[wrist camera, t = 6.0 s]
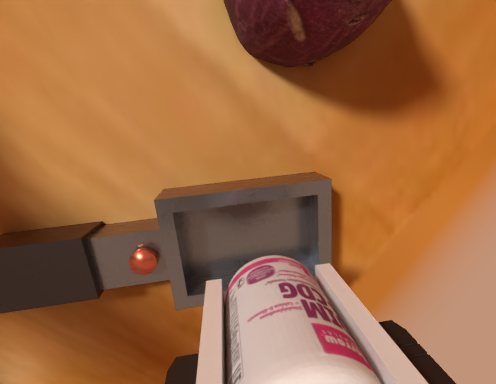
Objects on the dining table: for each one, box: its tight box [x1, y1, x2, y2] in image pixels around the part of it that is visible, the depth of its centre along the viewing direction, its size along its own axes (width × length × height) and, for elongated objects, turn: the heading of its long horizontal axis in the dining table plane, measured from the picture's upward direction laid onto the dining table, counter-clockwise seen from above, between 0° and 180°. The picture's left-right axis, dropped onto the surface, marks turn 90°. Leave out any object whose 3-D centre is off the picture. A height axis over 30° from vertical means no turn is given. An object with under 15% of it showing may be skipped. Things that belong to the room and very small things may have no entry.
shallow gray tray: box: [0, 172, 332, 313], centre depth 18 cm, size 24×8×3 cm, turn 95°
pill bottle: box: [225, 255, 381, 384], centre depth 9 cm, size 5×5×8 cm
